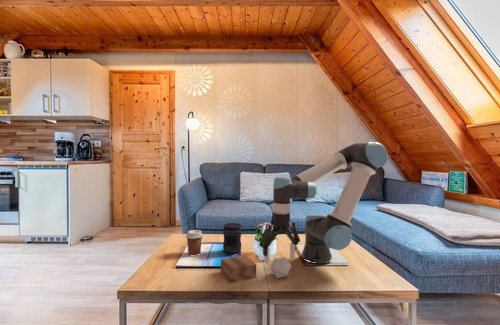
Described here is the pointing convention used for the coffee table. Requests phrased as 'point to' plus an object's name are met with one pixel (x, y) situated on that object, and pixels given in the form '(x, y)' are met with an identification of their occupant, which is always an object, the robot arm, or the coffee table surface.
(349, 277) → the coffee table surface
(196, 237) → the coffee cup
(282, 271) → the die
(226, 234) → the storage jar
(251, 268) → the walnut block
